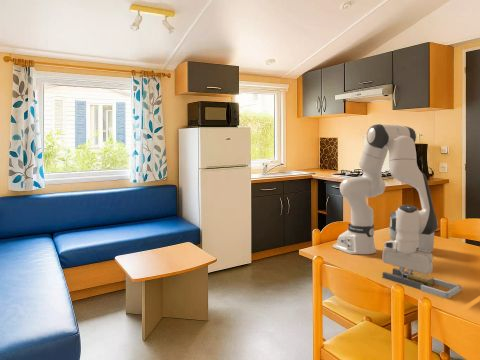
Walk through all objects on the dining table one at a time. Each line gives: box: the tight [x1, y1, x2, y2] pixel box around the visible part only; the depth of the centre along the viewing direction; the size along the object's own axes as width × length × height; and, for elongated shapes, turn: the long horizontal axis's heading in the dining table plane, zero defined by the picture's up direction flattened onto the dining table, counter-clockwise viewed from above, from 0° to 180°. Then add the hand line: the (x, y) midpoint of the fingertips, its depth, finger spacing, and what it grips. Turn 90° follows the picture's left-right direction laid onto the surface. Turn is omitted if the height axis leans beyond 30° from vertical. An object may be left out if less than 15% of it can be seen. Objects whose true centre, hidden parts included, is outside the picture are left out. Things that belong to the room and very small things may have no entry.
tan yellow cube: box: [408, 271, 423, 282], centre depth 155 cm, size 4×4×4 cm
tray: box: [420, 278, 462, 300], centre depth 148 cm, size 10×11×3 cm
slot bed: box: [381, 267, 435, 291], centre depth 158 cm, size 17×10×3 cm, turn 37°
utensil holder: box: [418, 231, 435, 254], centre depth 202 cm, size 15×15×18 cm
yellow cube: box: [418, 274, 434, 288], centre depth 152 cm, size 4×4×4 cm
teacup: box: [388, 225, 397, 240], centre depth 223 cm, size 14×11×8 cm
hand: (406, 278), depth 158 cm, fingers closed
